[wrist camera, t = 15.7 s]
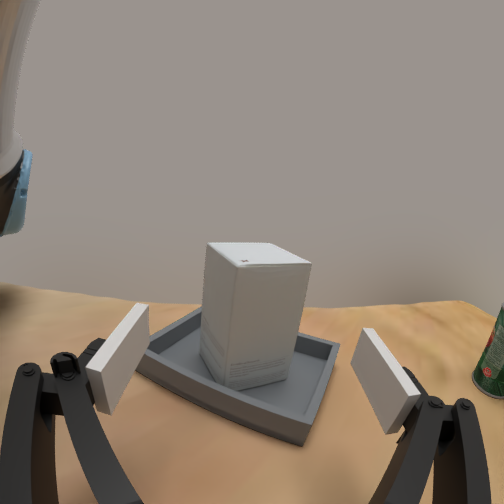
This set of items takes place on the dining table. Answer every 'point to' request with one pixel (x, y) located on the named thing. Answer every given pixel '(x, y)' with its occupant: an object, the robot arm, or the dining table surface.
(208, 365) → the supplement box
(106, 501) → the robot arm
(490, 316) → the dining table surface
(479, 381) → the canned tomato
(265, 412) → the gray tray
